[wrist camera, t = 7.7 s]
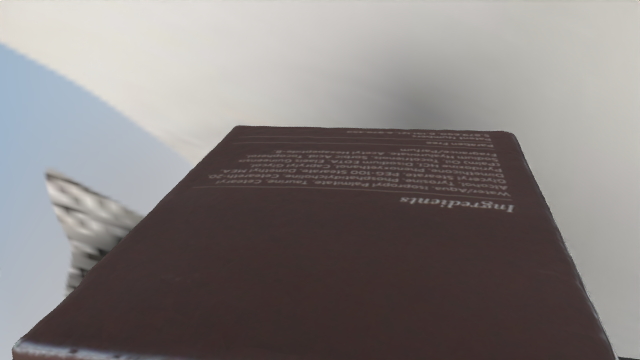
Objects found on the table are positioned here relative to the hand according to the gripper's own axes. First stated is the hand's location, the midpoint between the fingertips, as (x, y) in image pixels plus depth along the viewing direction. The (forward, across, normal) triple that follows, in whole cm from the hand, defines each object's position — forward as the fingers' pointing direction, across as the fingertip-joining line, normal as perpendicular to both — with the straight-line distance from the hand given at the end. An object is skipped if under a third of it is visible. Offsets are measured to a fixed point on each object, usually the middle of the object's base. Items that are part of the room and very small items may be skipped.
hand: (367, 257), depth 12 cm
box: (+1, 0, 0) cm, 1 cm away
